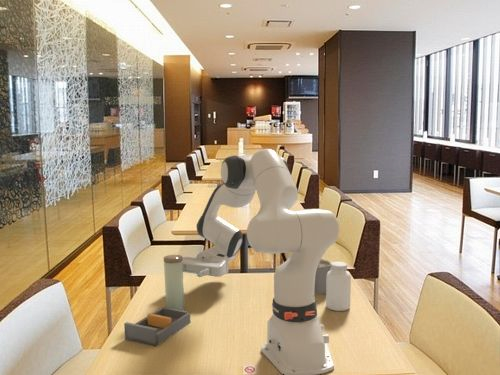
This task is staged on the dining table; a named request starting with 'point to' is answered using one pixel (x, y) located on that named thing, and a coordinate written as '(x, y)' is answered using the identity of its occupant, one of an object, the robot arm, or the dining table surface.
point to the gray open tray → (153, 333)
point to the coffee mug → (321, 276)
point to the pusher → (158, 320)
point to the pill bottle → (338, 287)
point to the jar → (174, 281)
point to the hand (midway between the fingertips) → (187, 273)
